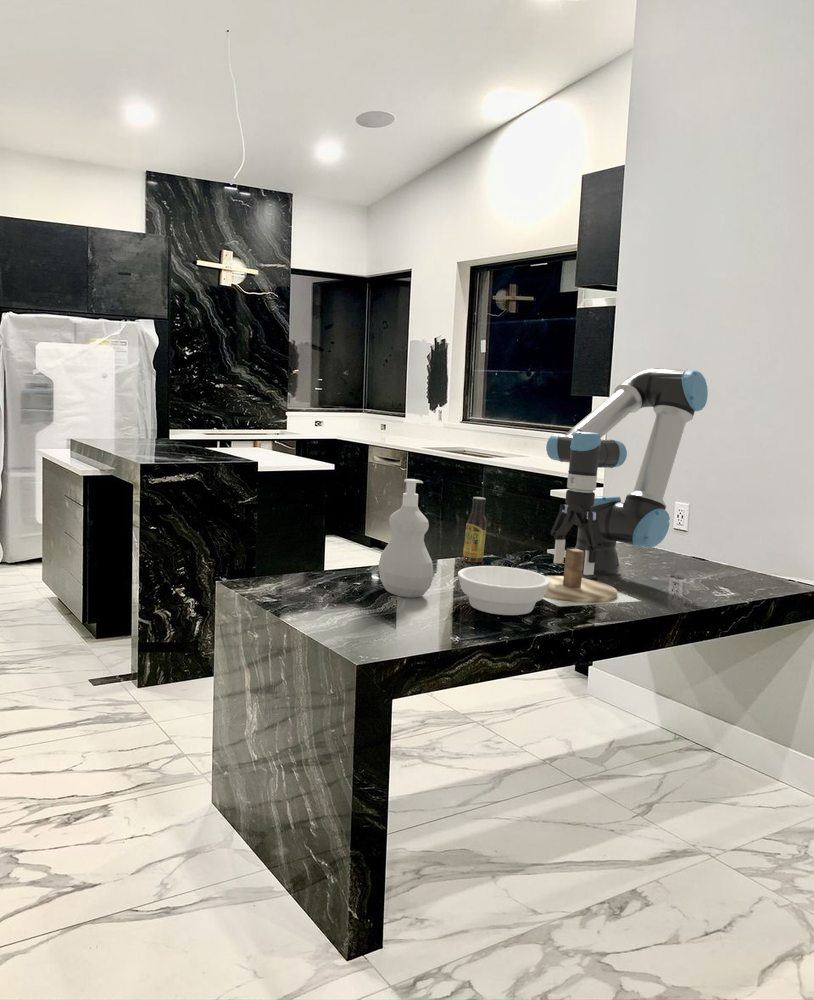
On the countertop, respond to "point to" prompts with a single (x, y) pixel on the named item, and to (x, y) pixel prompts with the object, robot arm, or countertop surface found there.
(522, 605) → the bowl
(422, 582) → the soap bottle
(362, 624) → the countertop surface
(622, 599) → the mat
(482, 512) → the sauce bottle
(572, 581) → the lid
